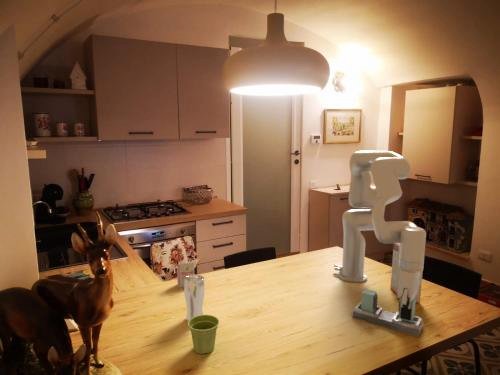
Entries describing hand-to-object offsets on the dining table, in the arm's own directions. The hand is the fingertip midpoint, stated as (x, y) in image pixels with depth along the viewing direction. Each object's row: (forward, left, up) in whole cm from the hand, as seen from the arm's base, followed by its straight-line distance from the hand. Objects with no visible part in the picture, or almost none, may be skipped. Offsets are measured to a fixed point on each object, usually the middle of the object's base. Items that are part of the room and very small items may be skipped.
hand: (407, 315), depth 126 cm
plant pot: (-47, -49, -5) cm, 68 cm away
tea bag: (-85, -18, -5) cm, 87 cm away
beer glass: (-62, -37, -5) cm, 73 cm away
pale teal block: (0, 0, -1) cm, 1 cm away
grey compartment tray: (-6, 0, -4) cm, 8 cm away
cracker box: (-6, +27, -5) cm, 28 cm away
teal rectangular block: (-13, 0, -2) cm, 13 cm away
